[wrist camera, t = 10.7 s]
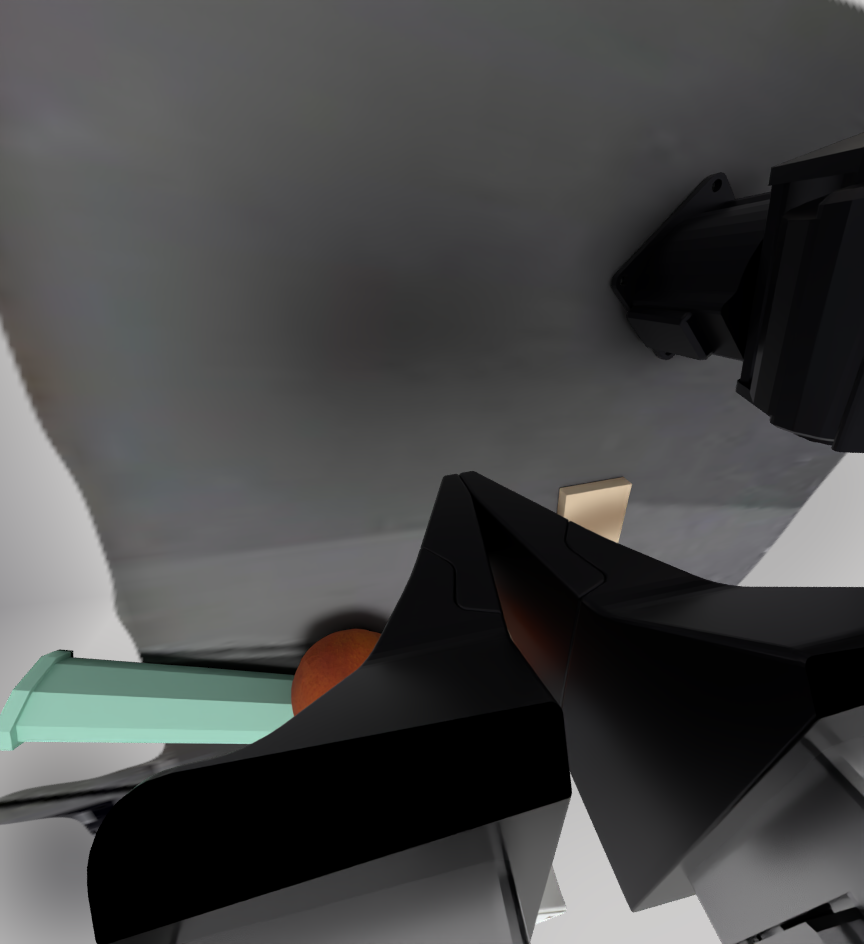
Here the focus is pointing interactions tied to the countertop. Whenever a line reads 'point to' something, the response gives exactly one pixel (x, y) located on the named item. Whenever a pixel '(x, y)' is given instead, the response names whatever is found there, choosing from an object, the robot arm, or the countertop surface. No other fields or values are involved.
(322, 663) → the fruit
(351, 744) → the robot arm
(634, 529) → the countertop surface
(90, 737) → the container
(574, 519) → the plank
